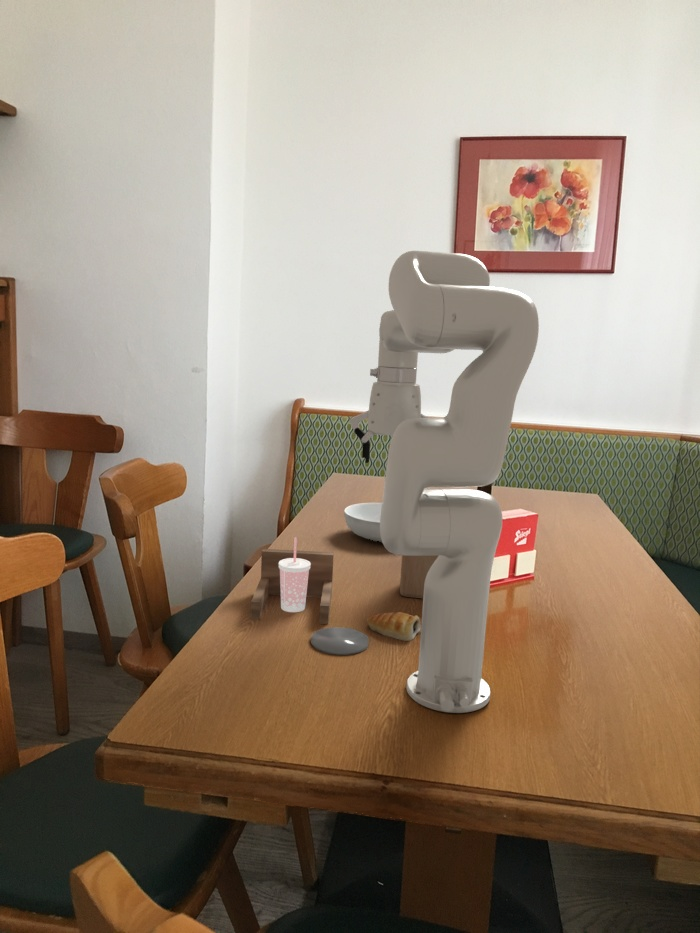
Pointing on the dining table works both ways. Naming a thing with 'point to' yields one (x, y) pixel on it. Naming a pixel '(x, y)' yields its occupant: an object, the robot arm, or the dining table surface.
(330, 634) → the coaster
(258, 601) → the rack
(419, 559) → the block
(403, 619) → the pastry
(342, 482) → the dining table surface
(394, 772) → the dining table surface
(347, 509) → the serving bowl
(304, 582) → the beverage cup
